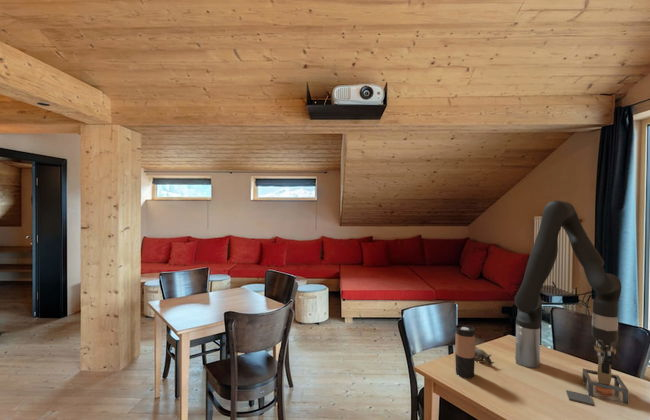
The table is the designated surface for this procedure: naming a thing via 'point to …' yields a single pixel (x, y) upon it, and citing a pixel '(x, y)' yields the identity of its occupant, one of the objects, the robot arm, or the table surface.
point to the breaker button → (604, 390)
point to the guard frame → (616, 395)
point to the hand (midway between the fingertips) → (603, 370)
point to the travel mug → (465, 351)
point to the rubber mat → (579, 397)
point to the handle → (602, 377)
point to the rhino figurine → (482, 356)
